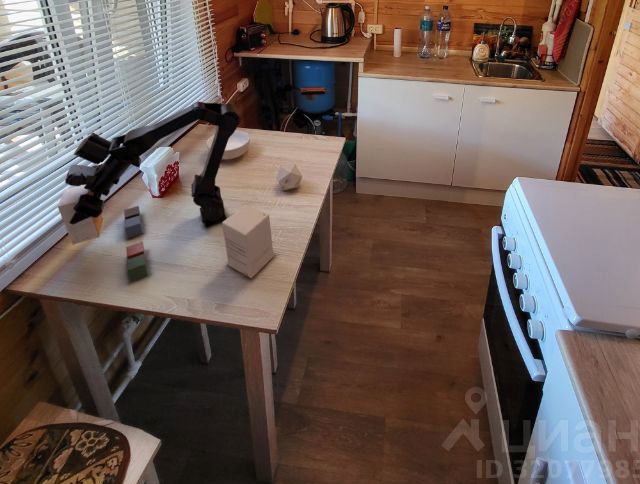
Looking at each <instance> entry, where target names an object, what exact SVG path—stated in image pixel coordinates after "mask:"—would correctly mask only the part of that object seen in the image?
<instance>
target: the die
mask: <svg viewBox="0 0 640 484" xmlns="http://www.w3.org/2000/svg"><path fill="white" fill-rule="evenodd" d="M302 179H303V175H302V174H301V172H300V169H299V168H298V166H297V165H296V163H294V164H289V165H284V166H280V168H279V170H278V173H277V175H276V180H277V182H278V184H279V185H280V187H281V189H282V191H288V190H293V189H298V188H299V186H300V184H301V181H302Z"/></svg>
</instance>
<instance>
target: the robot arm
mask: <svg viewBox="0 0 640 484" xmlns="http://www.w3.org/2000/svg"><path fill="white" fill-rule="evenodd" d="M197 121H203V122H205V123H208V124H211V125H213V126H215V132H214V135H215V136H214V139H213V142H212V145H211V148H210V151H208V154H207V156H206V161H205V163H204V167H203V169H202V172H201V173H200V174H194V179H193V181H192V183H191V188H190V189H191V198H192V200H193V203H194V204H195V206H198V207H199V213H200V219H201V222H202V224H204V226H205V228H209V227H212V226H215V225H217V224H222V222H224V221H225V220H226V219H227V218H228V217H227V215H226V212H225V211H226V210H225V203H224V200H223V198H222V193H221V187H220V186H218V185H216V179H217V175H218V173H219V169H220V166H221V163H222V160H223V159H222V157H223V154H224V151H225V148H226V145H227V142H228V140H229V138H230V137H231V135H232V134H233V133H234V132H235V130H237V128H238V126H239V125H240V121H241V119H240V115H239V111H238V108H237V107H236V105H234V104H232V103H224V104H223V103H219V102H203V101H195V102H193V103H192V104H190V105H189V106H187V107H185V108H183V109H180V110H179V111H177V112H175V113H173V114H171V115H169V116H167V117H166V118H164V119H162V120H160V121H157V122H156V123H153V124H150V125H144V126H140V127H136V128H134V129H131V130H129V131H128V132H126V133H124V134H122V135H119V136H118V135H117V136H114V137H112V139H111V141H110V140H108V139H106V138H104V137H102V136H100V135H98V133H95V132H91V133H90V134H89V135H87V137H85V138H83V139H82V141H81V142H80V144H78V146H77V148H76V149H75V151H74V152H73V156H76V157H78V158H80V159H83V160H85V161H87V162H90V163H91V164H94V165H92V166H89V165H82V164H71V165H70V167H69V169H68V171H67V174H66V177H65V180H64V183H65V184H66V185H68V186H72V187H77V186H82V185H85V186H84V188H85V189H87V190H90V191H91V192H92V193H91V195H89V194H83V195H81V196H80V197H79V198H78V199H77V201H76V202H75V204H74V207H73V209H74V210H75V211H76V212H75V213H74V215H73V217H72V219H71V221H70V224H72V225H74V224H76V223H78V222H80V221H82V220H85V219H87V218H90V217H94V218H97V217H99V215H100V214H101V215H102V213H103V211H104V208H105V201H104V199H101V197H102V195H103V196H105V197H108V195H109V194H110V192H111V189H112V188H113V187H114V185H115V186H116V185H118V184H119V182H120V179H121V177H123V175H124V174H125V173H126V171H128V169H129V168H130V167H131V166H133V167H136V168H140V167H141V164H142V163H141V162H142V159H141V156H143V155H144V154H145V153H147V152H148V151H149V150H151V149H152V148H153V147H154V146H155V145H156V144H157V143H158V142H160V141H161V140H162V139H164V138H166V137H168V136H170V135H172V134H174V133H176V132H177V131H180V130H182V129H183V128H185V127H187V126H189V125H191V124H193V123H194V122H197Z"/></svg>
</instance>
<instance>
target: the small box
mask: <svg viewBox="0 0 640 484" xmlns="http://www.w3.org/2000/svg"><path fill="white" fill-rule="evenodd" d="M84 186H85V185H81V186H72V187H69V188H65V189H64V191H63V193H62V195H61V197H60V200H59V203H58V205H57V209H58V212H59V214H60V216H61V219H62V221H63V224H64V226H65V229H66V232H67V234H68V236H69V239H70V242H71V244H72V245H73V246H74V245H77V244H81V243H85V242H88V241H91V240H95V239H98V238H100V234H101V230H102V225H103V222H104V218H103V214H102V213H101V214H100V215H99V217H97V218H94V217H90V218H87V219H85V220H82V221H80V222H78V223H76V224H74V225H72V224H70V221H71V219H72V217H73V215H74V213H75V212H76V211H75V210H74V209H73V207H74V204H75V202H76V201H77V199H78V198H79V197H80V196H81V195H83V194H89V195H91V193H92V192H91V191H90V190H87V189H85V188H84Z"/></svg>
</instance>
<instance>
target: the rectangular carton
mask: <svg viewBox="0 0 640 484" xmlns="http://www.w3.org/2000/svg"><path fill="white" fill-rule="evenodd" d="M226 218H227V219H226V220H225V221H224V222H221V225H222V231H223V239H224V244H225V250H226V257H227V258H226V259H227V263H228V266H229V267H231V268H233V270H236V271H237V272H239V273H241V274H243V275H245V276H246V277H248V278H250V279H252V278H254V277H255V275H257V274H258V272H260V271H261V270H262V268H264V267H265V266H266V264H268V262H270V261H271V259H272V258H273V257H274V256H275V255H274V246H273V238H272V229H271V219H270V218H271V217H270V214H269V213H267V212H264V211H262V210H260V209H258V208H256V207H254V206H252V205H250V204H247V203H246V204H244V205H243V206H242V207H240V208H239V209H238V210H237V211H235V212H234V213H233V214H231V215H230V216H228V217H226Z"/></svg>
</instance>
